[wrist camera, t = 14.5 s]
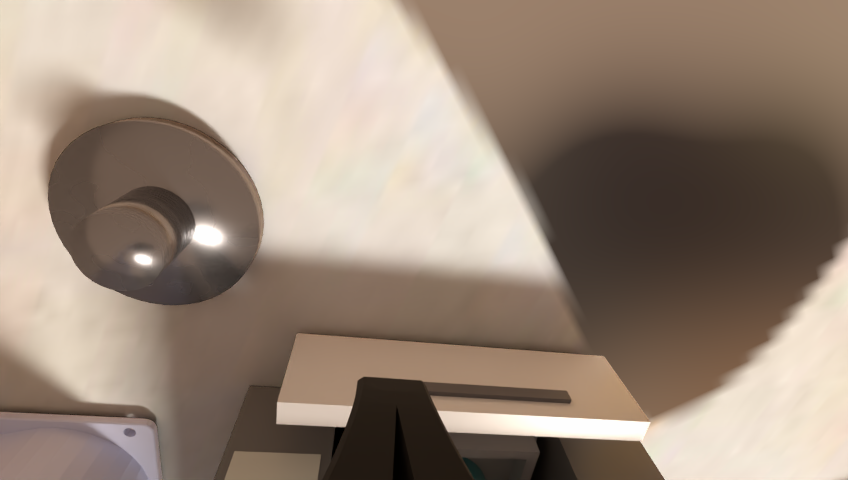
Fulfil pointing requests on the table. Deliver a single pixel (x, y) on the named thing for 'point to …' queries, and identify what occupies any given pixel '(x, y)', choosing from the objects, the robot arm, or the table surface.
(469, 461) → the teal rounded disc
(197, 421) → the table surface
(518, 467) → the drawer
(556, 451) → the player cabinet
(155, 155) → the spindle stand
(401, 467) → the robot arm
